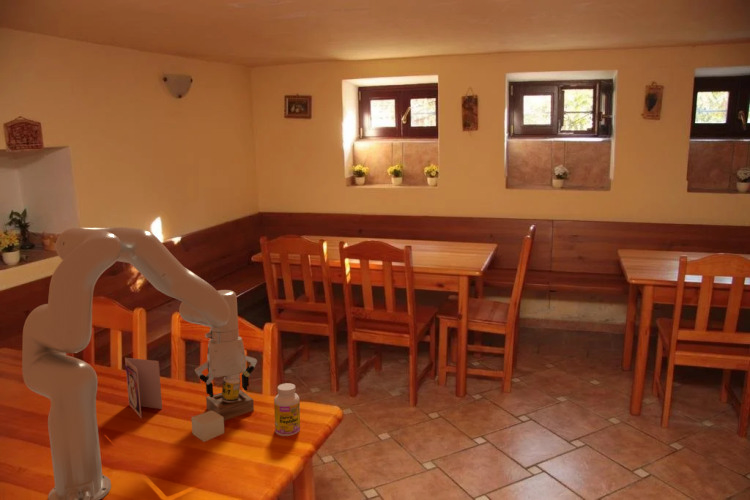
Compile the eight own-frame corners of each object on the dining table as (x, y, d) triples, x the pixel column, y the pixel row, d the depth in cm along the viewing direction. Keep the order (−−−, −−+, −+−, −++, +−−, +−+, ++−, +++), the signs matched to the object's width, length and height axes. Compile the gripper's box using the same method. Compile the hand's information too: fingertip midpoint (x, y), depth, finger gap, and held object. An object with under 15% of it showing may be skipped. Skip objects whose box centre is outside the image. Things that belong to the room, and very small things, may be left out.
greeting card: (126, 406, 175) (121, 358, 172) (151, 399, 180) (147, 352, 177) (138, 420, 166) (134, 369, 164) (164, 412, 171) (161, 363, 168)
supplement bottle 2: (276, 439, 155) (274, 393, 152) (274, 428, 161) (272, 383, 159) (302, 436, 156) (300, 390, 154) (298, 424, 163) (297, 380, 160)
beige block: (224, 434, 158) (223, 417, 157) (203, 442, 154) (202, 424, 153) (212, 427, 162) (211, 410, 161) (192, 434, 158) (191, 417, 157)
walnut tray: (254, 415, 170) (253, 399, 169) (220, 425, 164) (219, 408, 163) (239, 403, 178) (238, 388, 177) (207, 412, 172) (206, 396, 171)
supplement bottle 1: (217, 399, 169) (220, 370, 168) (230, 395, 173) (233, 367, 172) (228, 404, 166) (231, 375, 165) (241, 400, 170) (244, 372, 169)
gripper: (195, 343, 159) (199, 403, 162) (258, 333, 167) (261, 391, 170) (190, 335, 165) (194, 393, 168) (251, 326, 173) (254, 382, 176)
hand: (228, 392), depth 169 cm, fingers open, 9 cm apart
